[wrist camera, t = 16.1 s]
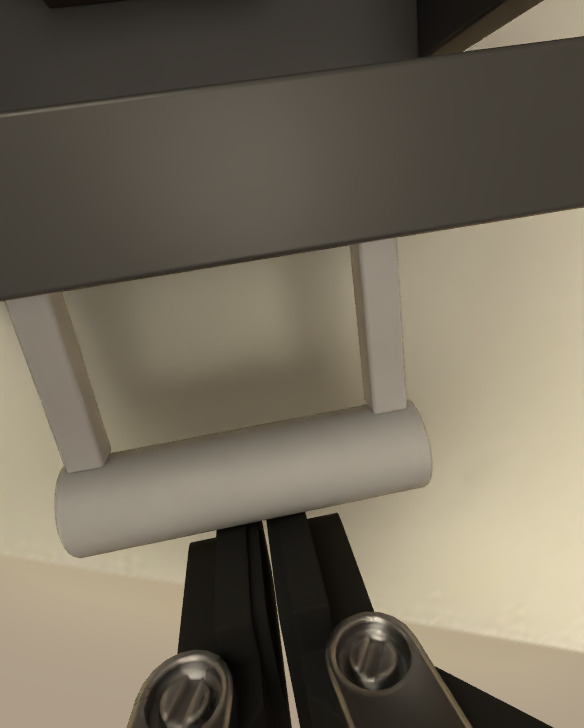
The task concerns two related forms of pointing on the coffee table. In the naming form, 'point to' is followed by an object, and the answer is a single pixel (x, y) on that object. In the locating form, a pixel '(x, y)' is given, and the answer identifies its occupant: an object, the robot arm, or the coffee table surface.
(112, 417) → the coffee table surface
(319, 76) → the pulled-out drawer
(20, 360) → the coffee table surface
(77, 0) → the block
